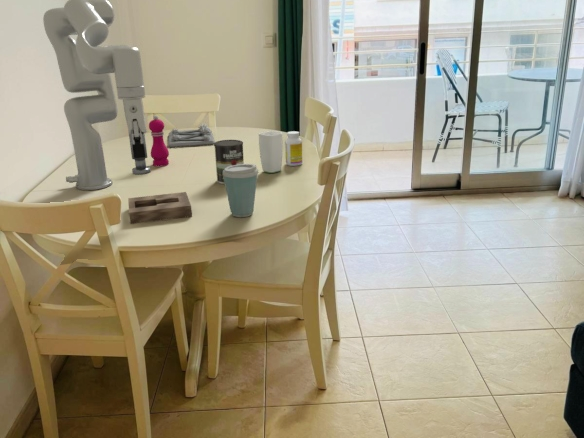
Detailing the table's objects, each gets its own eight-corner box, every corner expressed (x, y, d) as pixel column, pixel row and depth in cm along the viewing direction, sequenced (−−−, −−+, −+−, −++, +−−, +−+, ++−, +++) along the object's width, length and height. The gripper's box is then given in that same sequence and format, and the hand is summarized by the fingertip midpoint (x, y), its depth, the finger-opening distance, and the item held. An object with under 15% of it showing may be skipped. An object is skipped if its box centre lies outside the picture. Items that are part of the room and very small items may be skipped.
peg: (132, 175, 158) (126, 131, 153) (132, 171, 163) (126, 128, 158) (150, 173, 159) (145, 130, 155) (150, 169, 164) (144, 126, 159)
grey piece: (169, 136, 275) (167, 122, 273) (211, 133, 279) (210, 119, 276) (168, 149, 248) (166, 134, 245) (215, 146, 251) (214, 131, 249)
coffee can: (249, 182, 195) (246, 143, 190) (221, 186, 191) (218, 147, 186) (239, 175, 203) (237, 138, 198) (213, 178, 200) (210, 141, 195)
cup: (272, 167, 212) (271, 130, 206) (285, 171, 207) (284, 132, 201) (258, 171, 207) (256, 133, 202) (271, 175, 202) (269, 136, 197)
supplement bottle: (305, 163, 216) (305, 132, 211) (294, 167, 212) (293, 135, 207) (293, 161, 220) (292, 130, 216) (282, 164, 216) (281, 132, 211)
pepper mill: (165, 167, 217) (160, 117, 210) (148, 166, 218) (142, 117, 211) (172, 162, 223) (167, 114, 216) (156, 161, 225) (150, 113, 218)
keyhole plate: (130, 223, 158) (128, 212, 157) (129, 208, 171) (128, 198, 170) (192, 216, 163) (191, 205, 162) (187, 202, 175) (186, 191, 174)
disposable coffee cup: (218, 217, 161) (215, 169, 156) (235, 206, 171) (231, 160, 165) (251, 221, 158) (248, 172, 152) (265, 209, 167) (263, 162, 162)
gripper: (146, 95, 146) (153, 161, 153) (143, 88, 161) (151, 148, 168) (117, 97, 144) (126, 163, 151) (117, 89, 159) (126, 150, 166)
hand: (139, 154), depth 159 cm, fingers closed on peg, 4 cm apart
